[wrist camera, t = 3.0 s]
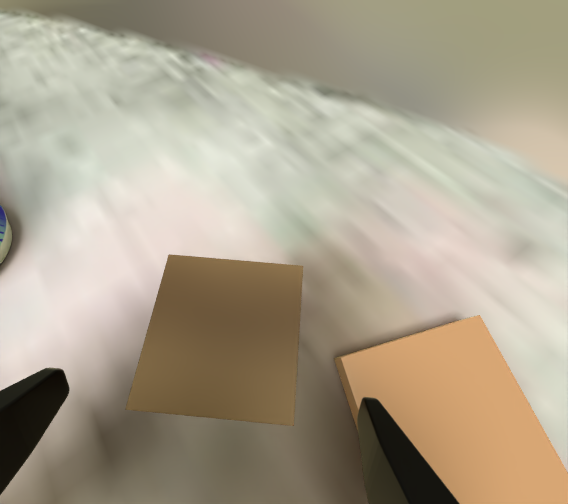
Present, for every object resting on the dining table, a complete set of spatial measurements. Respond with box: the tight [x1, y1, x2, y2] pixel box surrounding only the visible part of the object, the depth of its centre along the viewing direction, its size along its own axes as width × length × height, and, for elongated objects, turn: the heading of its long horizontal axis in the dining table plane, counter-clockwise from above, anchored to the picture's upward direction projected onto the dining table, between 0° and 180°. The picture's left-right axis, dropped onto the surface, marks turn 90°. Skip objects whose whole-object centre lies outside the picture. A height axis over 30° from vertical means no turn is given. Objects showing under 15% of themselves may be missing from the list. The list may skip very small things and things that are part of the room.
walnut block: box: [125, 255, 303, 426], centre depth 13 cm, size 5×5×9 cm
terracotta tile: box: [334, 315, 568, 504], centre depth 15 cm, size 9×9×2 cm
